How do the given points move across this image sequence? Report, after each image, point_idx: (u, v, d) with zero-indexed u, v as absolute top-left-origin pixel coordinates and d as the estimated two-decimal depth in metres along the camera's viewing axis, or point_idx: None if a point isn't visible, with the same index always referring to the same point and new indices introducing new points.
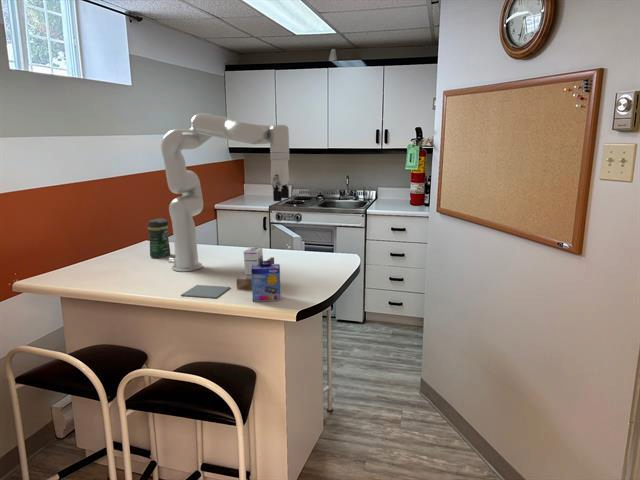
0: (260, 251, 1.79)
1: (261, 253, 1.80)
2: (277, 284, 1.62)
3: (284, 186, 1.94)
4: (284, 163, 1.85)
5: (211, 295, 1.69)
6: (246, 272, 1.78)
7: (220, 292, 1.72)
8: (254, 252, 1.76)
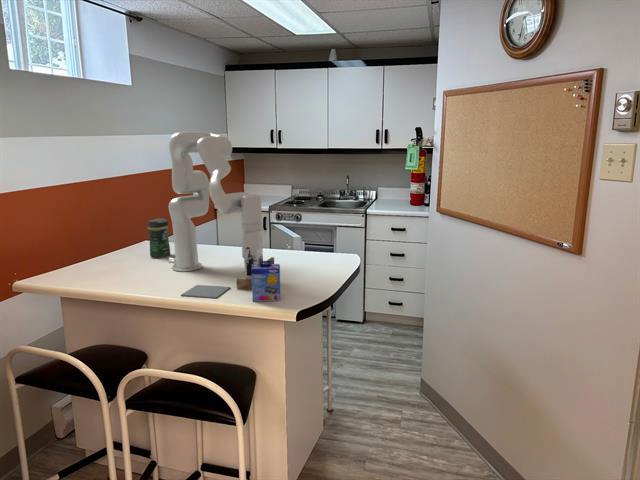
0: (260, 251, 1.79)
1: (261, 253, 1.80)
2: (277, 284, 1.62)
3: None
4: (256, 234, 1.75)
5: (211, 295, 1.69)
6: (246, 272, 1.78)
7: (220, 292, 1.72)
8: None
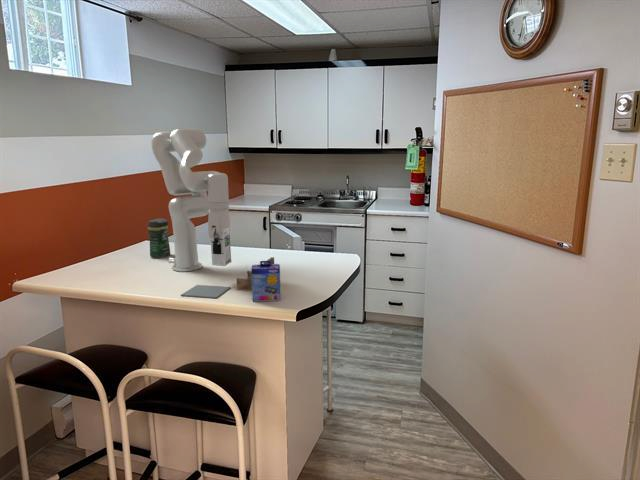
0: (227, 230, 1.80)
1: (228, 232, 1.82)
2: (277, 284, 1.62)
3: None
4: (222, 213, 1.77)
5: (211, 295, 1.69)
6: (212, 250, 1.80)
7: (220, 292, 1.72)
8: None
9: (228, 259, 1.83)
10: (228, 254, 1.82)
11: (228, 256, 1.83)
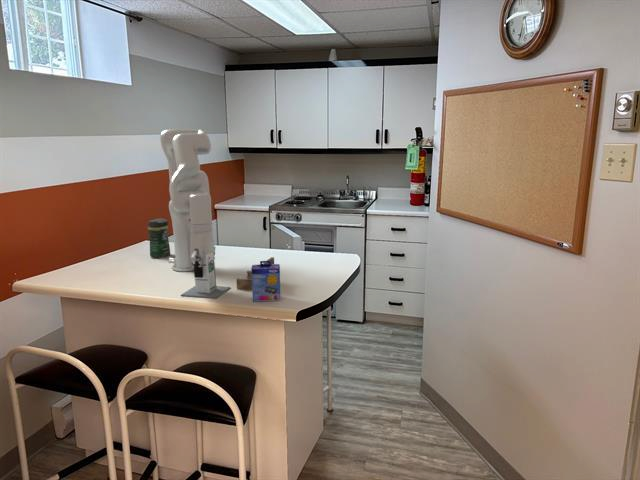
0: (211, 255, 1.72)
1: (212, 257, 1.73)
2: (277, 284, 1.62)
3: None
4: (205, 235, 1.68)
5: (211, 295, 1.69)
6: (196, 277, 1.71)
7: (220, 292, 1.72)
8: None
9: (213, 285, 1.74)
10: (212, 280, 1.73)
11: (213, 282, 1.74)
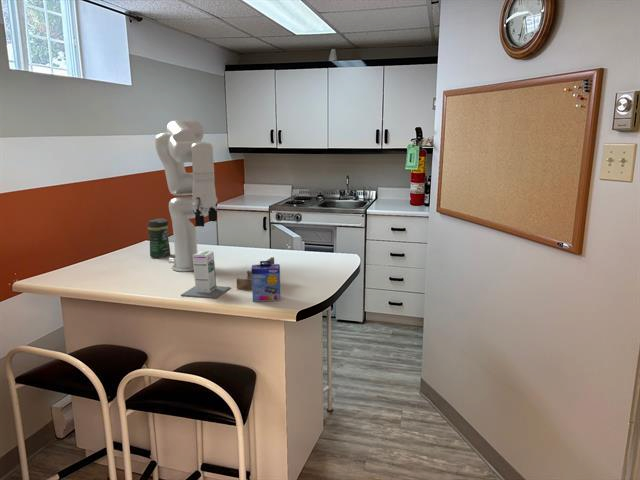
0: (210, 255, 1.72)
1: (212, 257, 1.73)
2: (277, 284, 1.62)
3: (212, 208, 1.78)
4: (207, 185, 1.68)
5: (211, 295, 1.69)
6: (196, 277, 1.71)
7: (220, 292, 1.72)
8: (203, 256, 1.69)
9: (213, 285, 1.74)
10: (212, 280, 1.73)
11: (213, 282, 1.74)
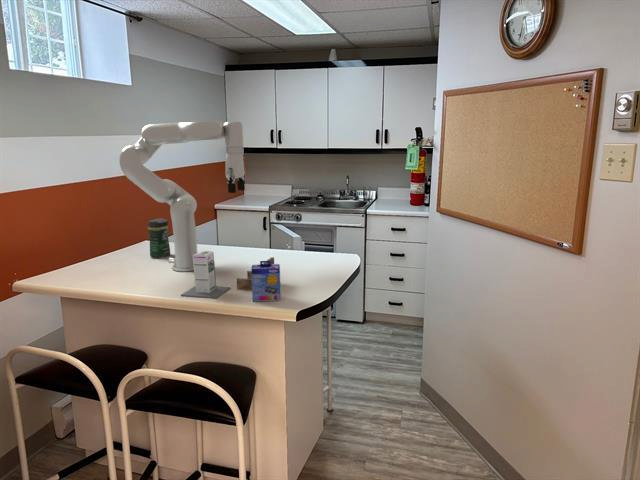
0: (210, 255, 1.72)
1: (212, 257, 1.73)
2: (277, 284, 1.62)
3: (240, 179, 2.07)
4: (238, 157, 1.98)
5: (211, 295, 1.69)
6: (196, 277, 1.71)
7: (220, 292, 1.72)
8: (203, 256, 1.69)
9: (213, 285, 1.74)
10: (212, 280, 1.73)
11: (213, 282, 1.74)
